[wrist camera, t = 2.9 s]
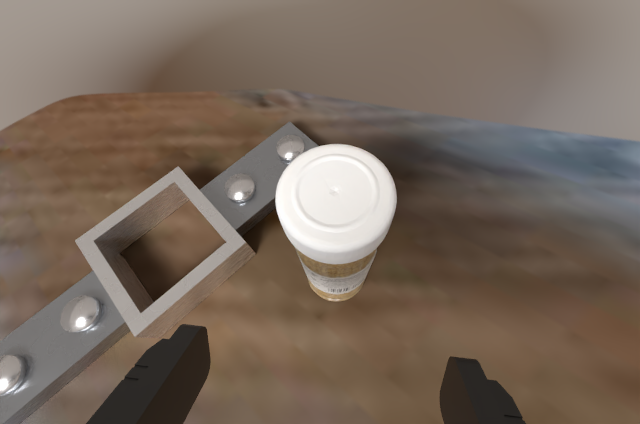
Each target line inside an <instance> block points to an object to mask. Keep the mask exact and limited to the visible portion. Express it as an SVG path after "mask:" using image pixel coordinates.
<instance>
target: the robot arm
mask: <svg viewBox="0 0 640 424" xmlns="http://www.w3.org/2000/svg"><path fill="white" fill-rule="evenodd" d="M209 369H210V352H209V343H208V335H207V329H206V327H203V326H195V325H186V324H182V325H181V326H179V328H178V329H177V330H176V331H175V333H174V334H173V335H172V337H171V338H170V339H162V340H160V341H159V342H158V343H156V344H155V345H153V346H152V347H151V348H149V349H148V350H147V351H146V352H145V353H144V354H143V355H142V357H141V358H140V359H139V360H138V362H137V363H136V364H135V367H134V368H132V369H131V370H130V371H129V372H128V374H127V375H126V376H125V379H124V380H122V381H121V382H120V383H119V385H118V386H117V387H116V388H115V389H114V391H113V392H112V393H111V394H110V395H109V397H108V398H107V399H106V400H105V401H104V403H103V404H102V405H101V406H100V408H99V409H98V410H97V411H96V412H95V414H94V415H93V416H92V417H91V418H90V420H89V421H88V422H87V423H86V424H183V422H184V420H185V419H186V417H187V415H188V413H189V411H190V409H191V407H192V405H193V403H194V402H195V400H196V398H197V396H198V394H199V392H200V390H201V388H202V386H203V385H204V383H205V381H206V379H207V376H208V373H209ZM440 408H441V413H442V417H443V421H444V424H526V423H525V421H523V420H522V416H521V414H520V412H519V410H518V408H517V406H516V404H515V402H514V400H513V398H512V397H511V396H510V395H509V394H508V393H507V392H506V390H505V389H504V388H503V387H502V386H501V385H500V384H499V383H498V382H497V381H494V380H487V378H486V376H485V374H484V372H483V370H482V368H481V365H480V364H479V362H478V361H477V360H476V359H467V358H459V357H450V358H449V360H448V363H447V367H446V371H445V374H444V378H443V382H442V386H441V390H440Z"/></svg>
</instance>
